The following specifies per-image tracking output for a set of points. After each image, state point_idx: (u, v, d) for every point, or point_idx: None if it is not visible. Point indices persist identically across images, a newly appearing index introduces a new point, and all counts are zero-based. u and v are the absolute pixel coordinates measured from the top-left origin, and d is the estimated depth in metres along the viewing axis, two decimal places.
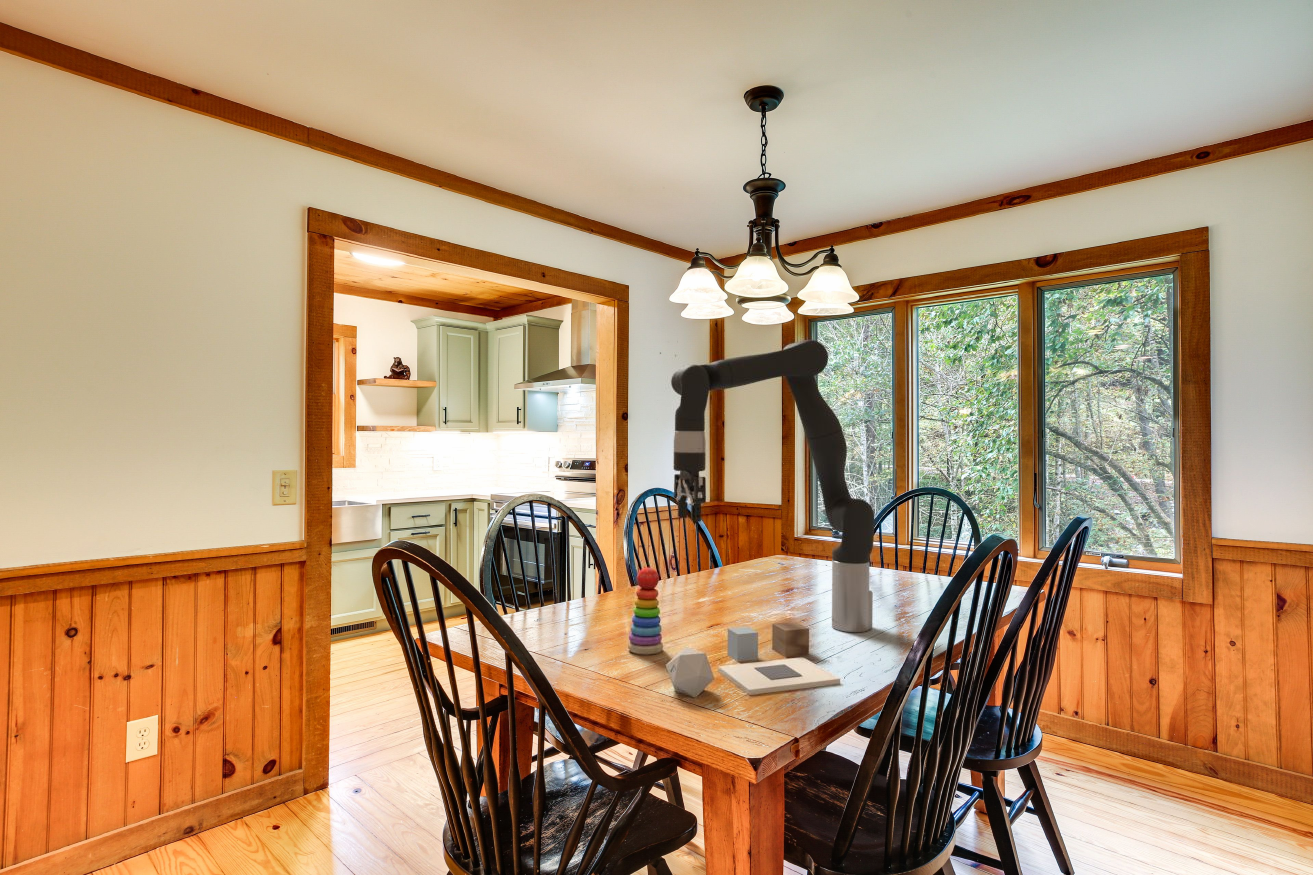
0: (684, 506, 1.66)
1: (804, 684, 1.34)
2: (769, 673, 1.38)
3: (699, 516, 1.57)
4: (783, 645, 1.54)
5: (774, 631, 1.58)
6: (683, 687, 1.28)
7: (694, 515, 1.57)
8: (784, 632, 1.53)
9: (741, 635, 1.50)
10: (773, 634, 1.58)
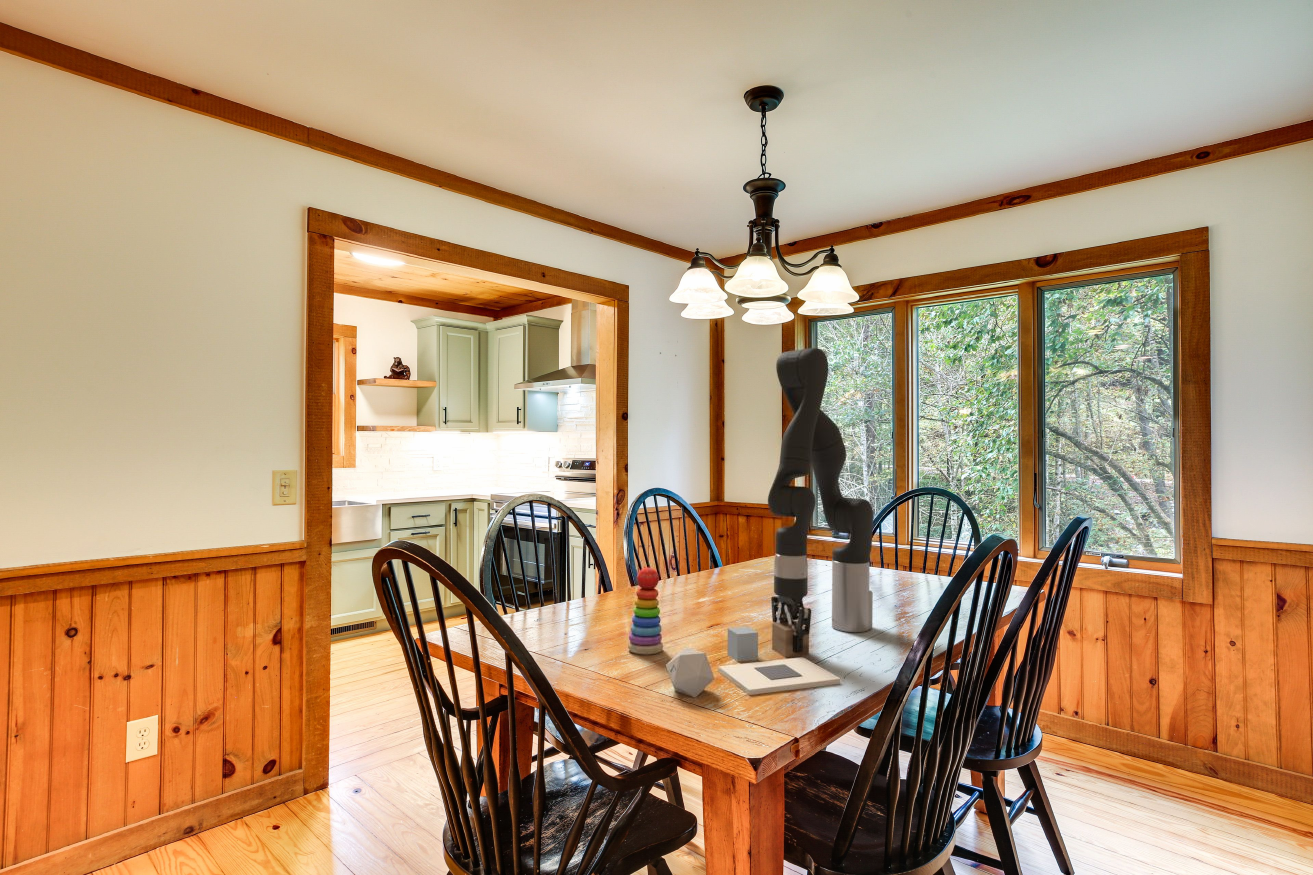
0: None
1: (804, 684, 1.34)
2: (769, 673, 1.38)
3: (801, 647, 1.53)
4: (783, 645, 1.54)
5: (773, 631, 1.58)
6: (683, 687, 1.28)
7: (796, 646, 1.53)
8: (784, 632, 1.53)
9: (741, 635, 1.50)
10: (773, 634, 1.58)
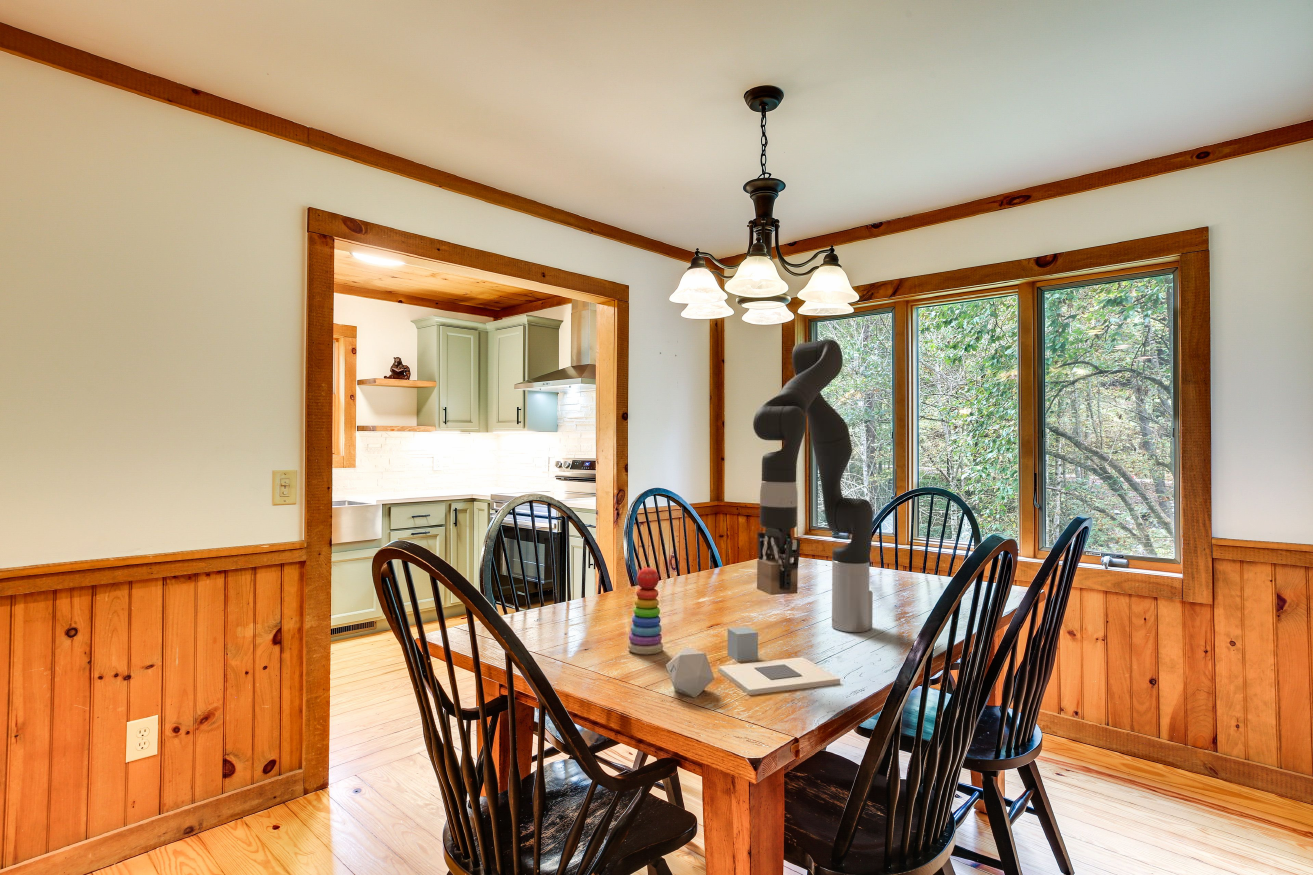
0: None
1: (804, 684, 1.34)
2: (769, 673, 1.38)
3: (789, 584, 1.37)
4: (768, 582, 1.38)
5: (759, 568, 1.42)
6: (683, 687, 1.28)
7: (783, 582, 1.37)
8: (770, 566, 1.37)
9: (741, 635, 1.50)
10: (758, 571, 1.42)
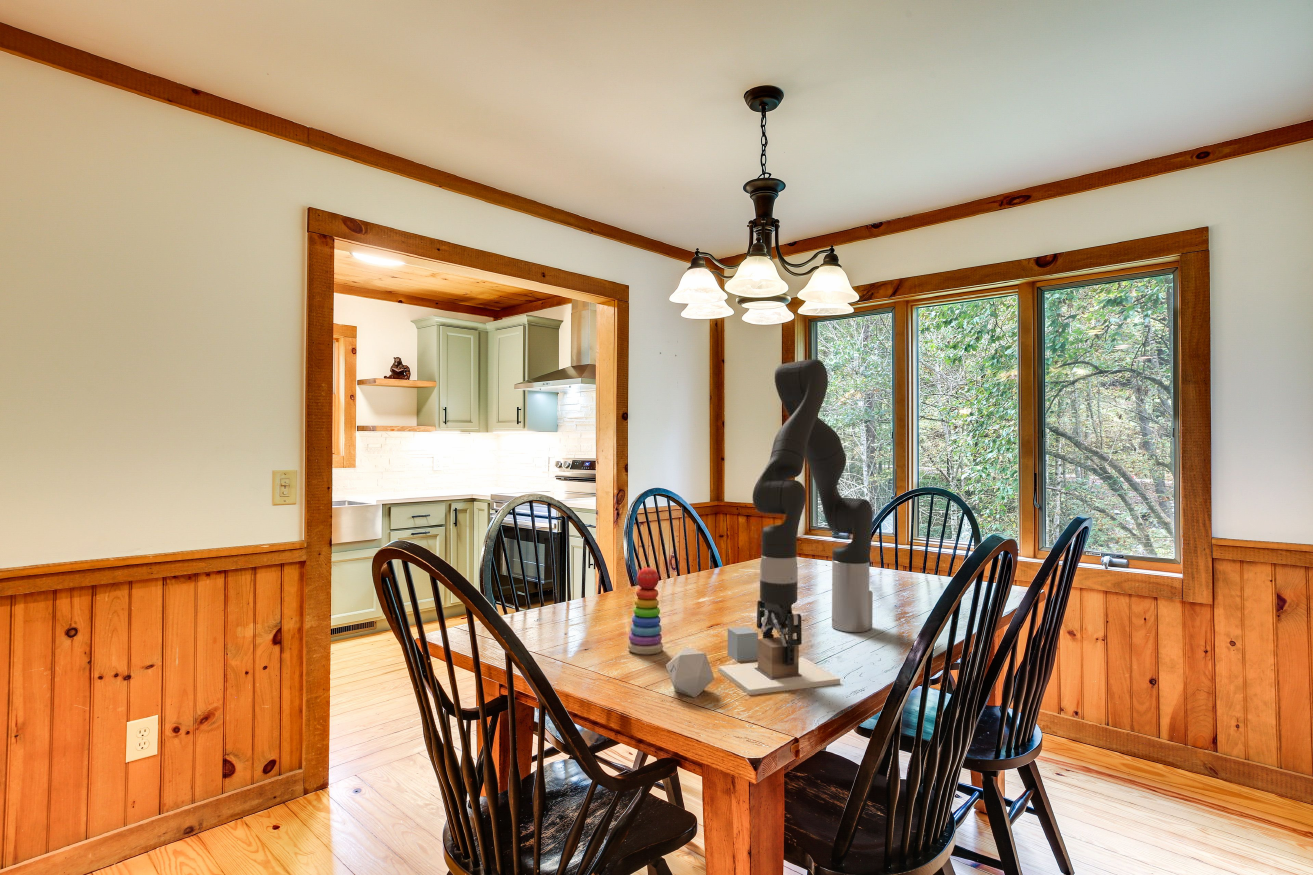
0: None
1: (804, 684, 1.34)
2: None
3: (793, 659, 1.35)
4: (769, 664, 1.37)
5: (759, 648, 1.41)
6: (683, 687, 1.28)
7: (787, 658, 1.35)
8: (770, 649, 1.36)
9: (741, 635, 1.50)
10: (759, 651, 1.41)
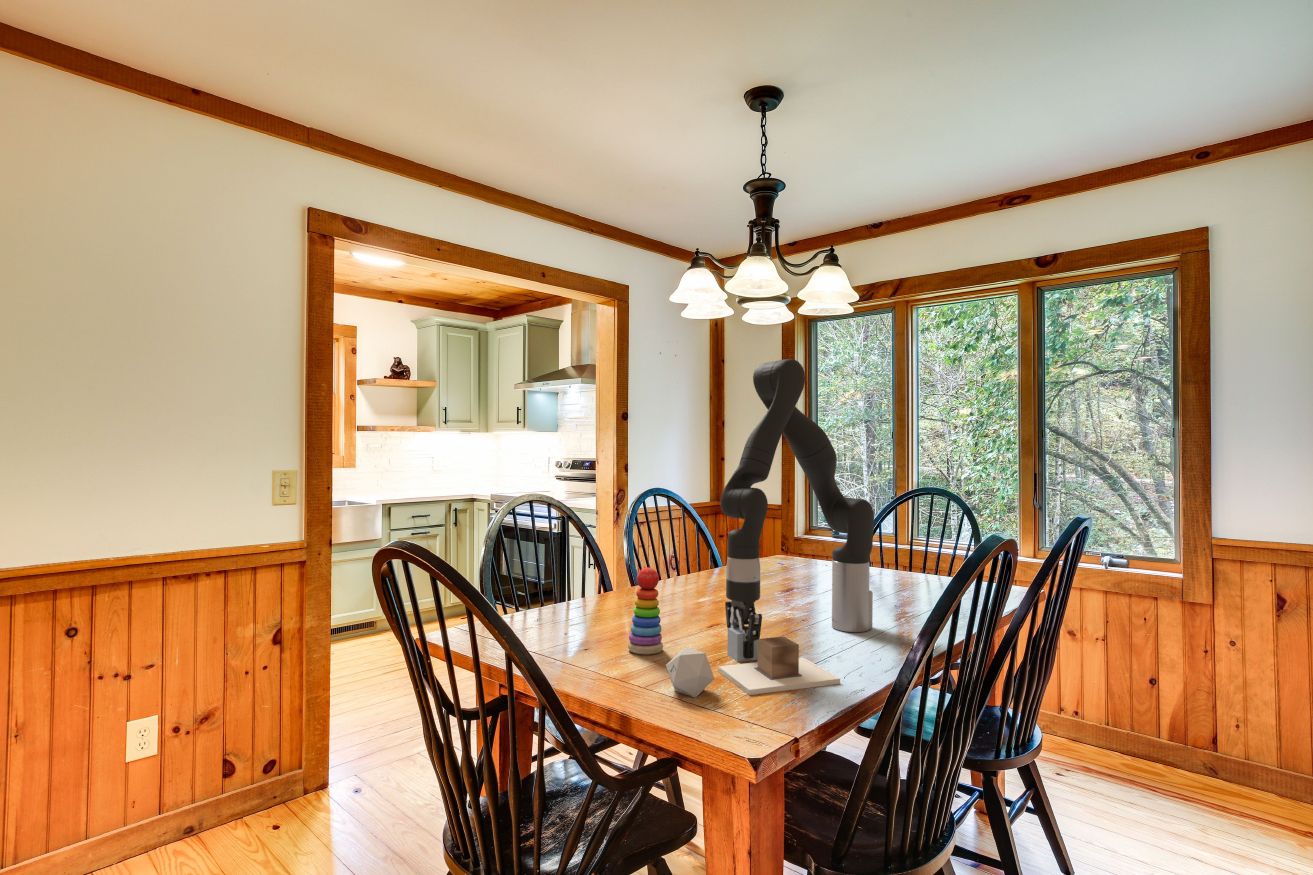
0: None
1: (804, 684, 1.34)
2: None
3: (752, 653, 1.49)
4: (769, 664, 1.37)
5: (759, 648, 1.41)
6: (683, 687, 1.28)
7: (747, 652, 1.49)
8: (770, 649, 1.36)
9: (741, 635, 1.50)
10: (759, 651, 1.41)
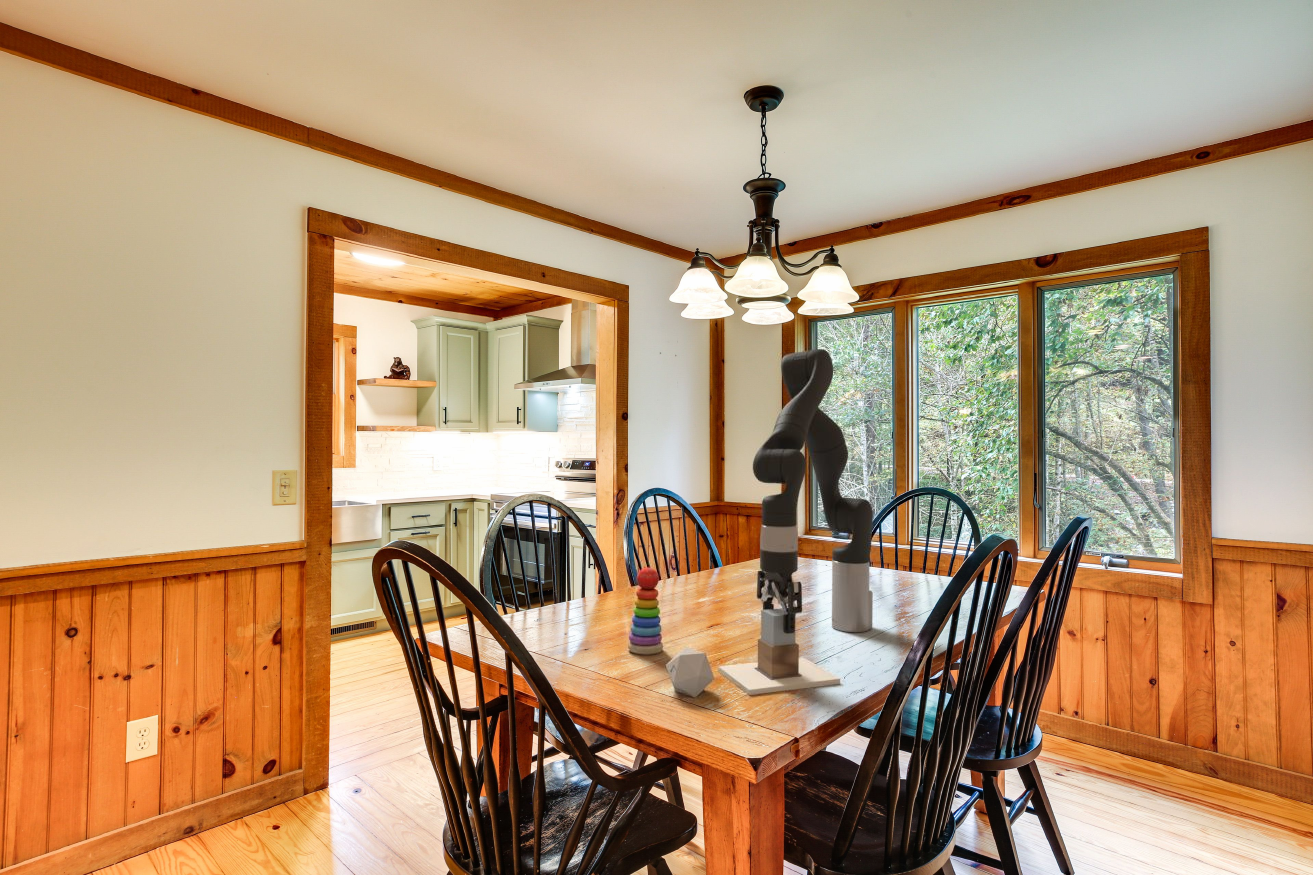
0: None
1: (804, 684, 1.34)
2: None
3: (793, 627, 1.35)
4: (769, 664, 1.37)
5: (759, 648, 1.41)
6: (683, 687, 1.28)
7: (787, 626, 1.35)
8: (770, 649, 1.36)
9: (778, 616, 1.37)
10: (759, 651, 1.41)
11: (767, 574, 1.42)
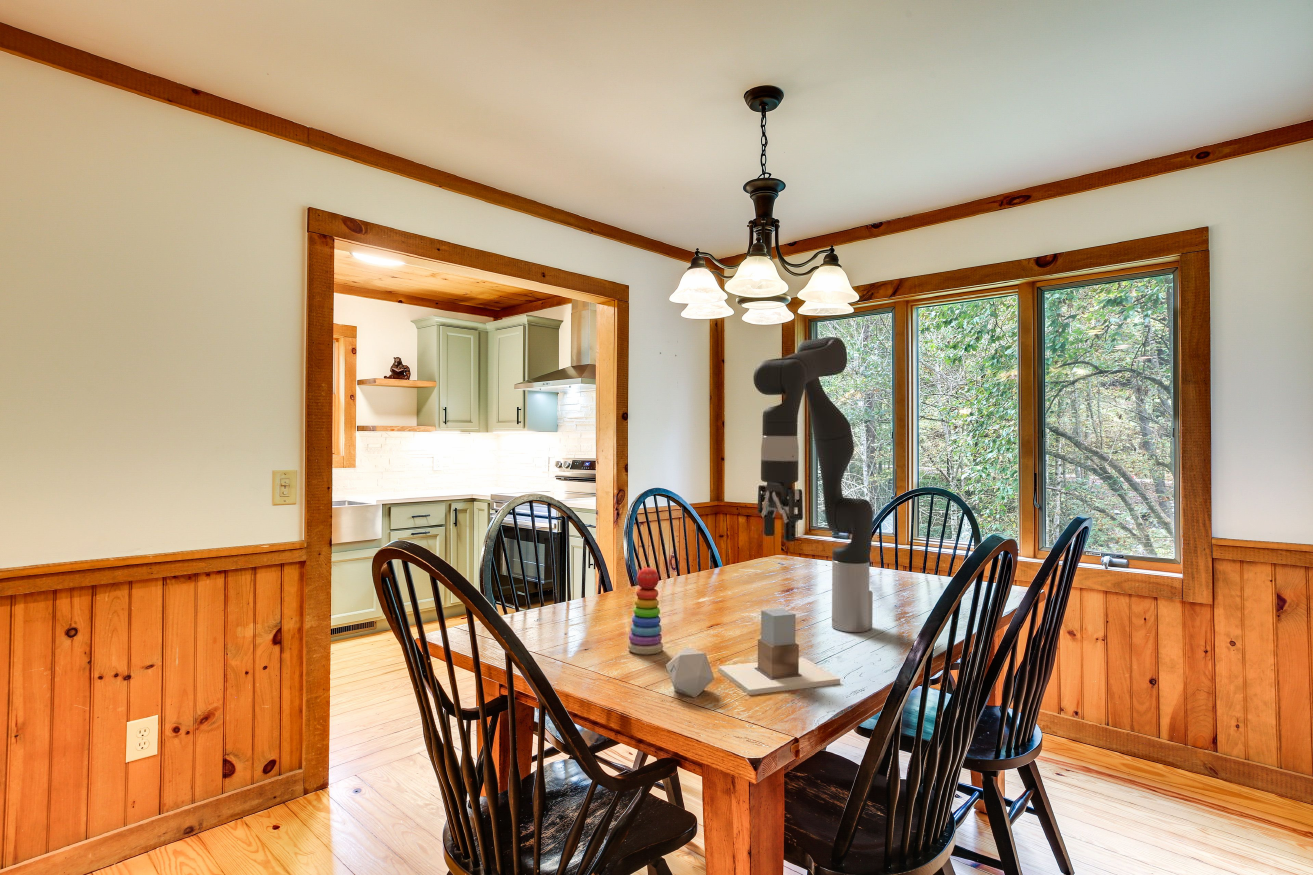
0: (771, 522, 1.44)
1: (804, 684, 1.34)
2: None
3: (794, 535, 1.35)
4: (769, 664, 1.37)
5: (759, 648, 1.41)
6: (683, 687, 1.28)
7: (788, 534, 1.35)
8: (770, 649, 1.36)
9: (778, 616, 1.37)
10: (759, 651, 1.41)
11: (768, 487, 1.42)
